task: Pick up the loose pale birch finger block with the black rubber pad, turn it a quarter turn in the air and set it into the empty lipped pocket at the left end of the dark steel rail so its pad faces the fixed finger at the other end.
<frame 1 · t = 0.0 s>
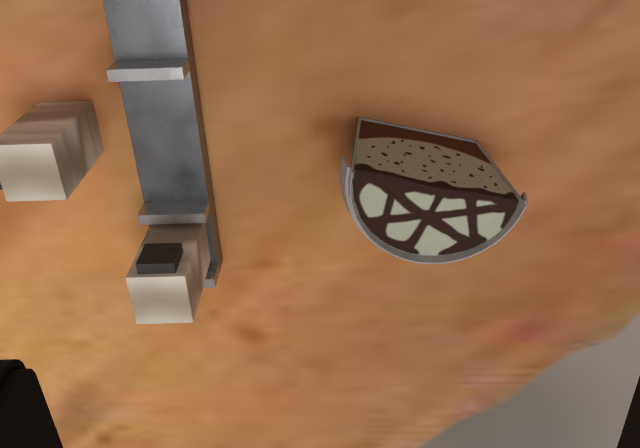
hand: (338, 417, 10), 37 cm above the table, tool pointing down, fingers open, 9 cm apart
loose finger: (72, 126, 46), on the table
rail: (170, 123, 46), on the table
fixed finger: (187, 226, 51), resting on rail
food container: (406, 163, 48), on the table
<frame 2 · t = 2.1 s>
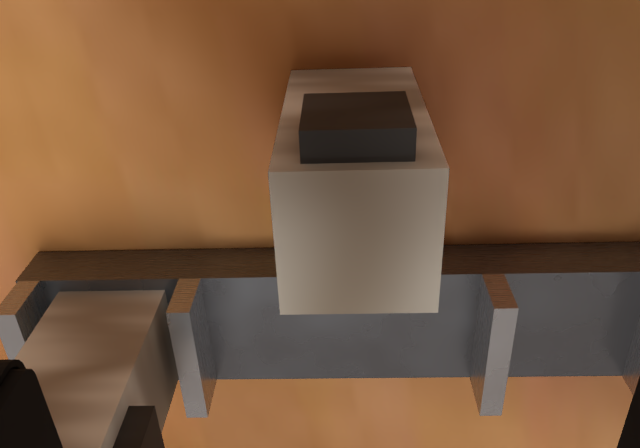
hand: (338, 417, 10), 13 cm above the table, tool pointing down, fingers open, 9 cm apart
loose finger: (351, 125, 21), on the table
rail: (352, 298, 25), on the table
fixed finger: (136, 301, 25), resting on rail
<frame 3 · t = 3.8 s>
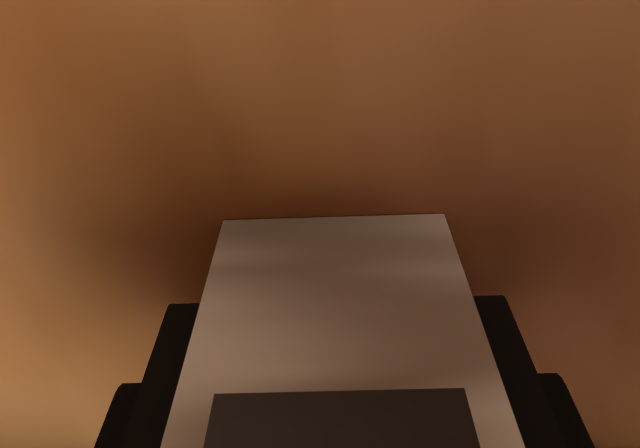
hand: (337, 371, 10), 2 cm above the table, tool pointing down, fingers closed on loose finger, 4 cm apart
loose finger: (335, 304, 12), on the table, touching gripper
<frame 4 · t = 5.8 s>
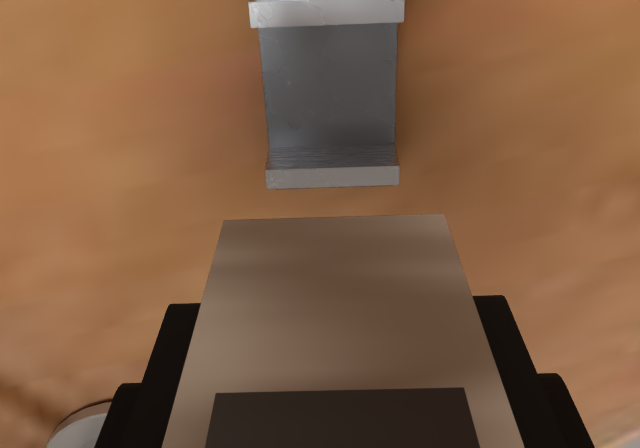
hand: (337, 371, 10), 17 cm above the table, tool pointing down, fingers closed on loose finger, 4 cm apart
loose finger: (335, 304, 12), point 15 cm above the table, touching gripper
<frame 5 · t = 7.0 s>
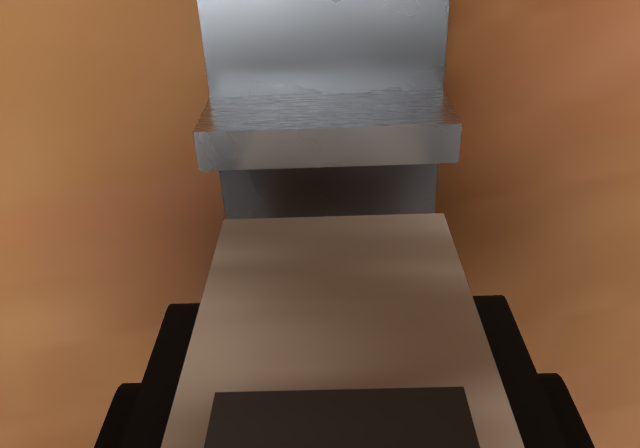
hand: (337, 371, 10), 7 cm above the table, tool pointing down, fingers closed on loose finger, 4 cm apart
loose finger: (335, 303, 12), point 5 cm above the table, touching gripper
when the fingers open (4 cm above the table, at t = 7.8 s): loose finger stays where it is, resting on rail.
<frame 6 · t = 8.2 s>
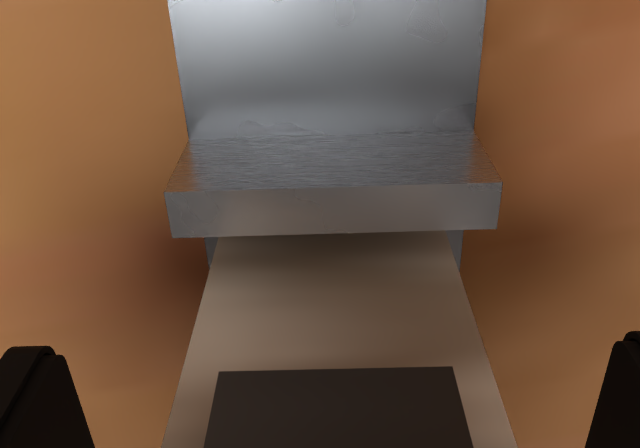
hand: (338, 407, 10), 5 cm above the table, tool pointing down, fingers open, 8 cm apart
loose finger: (333, 295, 13), point 2 cm above the table, touching rail
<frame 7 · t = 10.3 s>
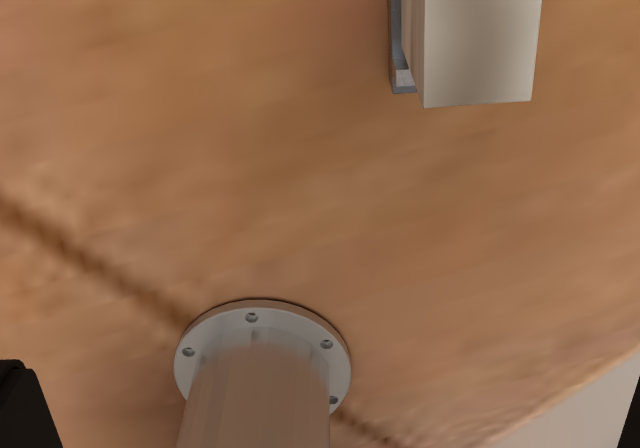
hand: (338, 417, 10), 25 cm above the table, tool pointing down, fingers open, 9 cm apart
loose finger: (443, 0, 29), point 2 cm above the table, touching rail
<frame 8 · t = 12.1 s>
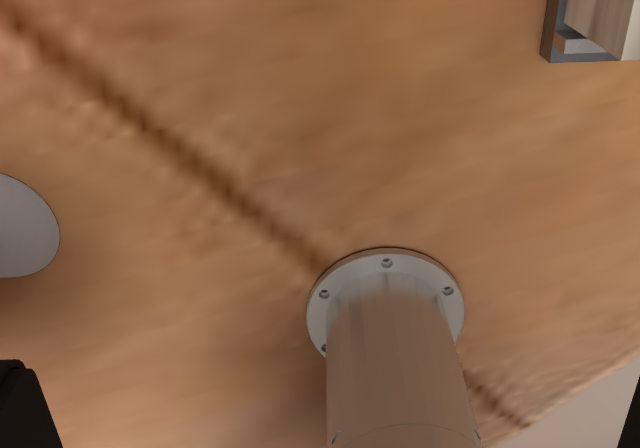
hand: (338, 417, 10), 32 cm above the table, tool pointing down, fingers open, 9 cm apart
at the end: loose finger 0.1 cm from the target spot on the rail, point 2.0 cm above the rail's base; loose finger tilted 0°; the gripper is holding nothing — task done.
